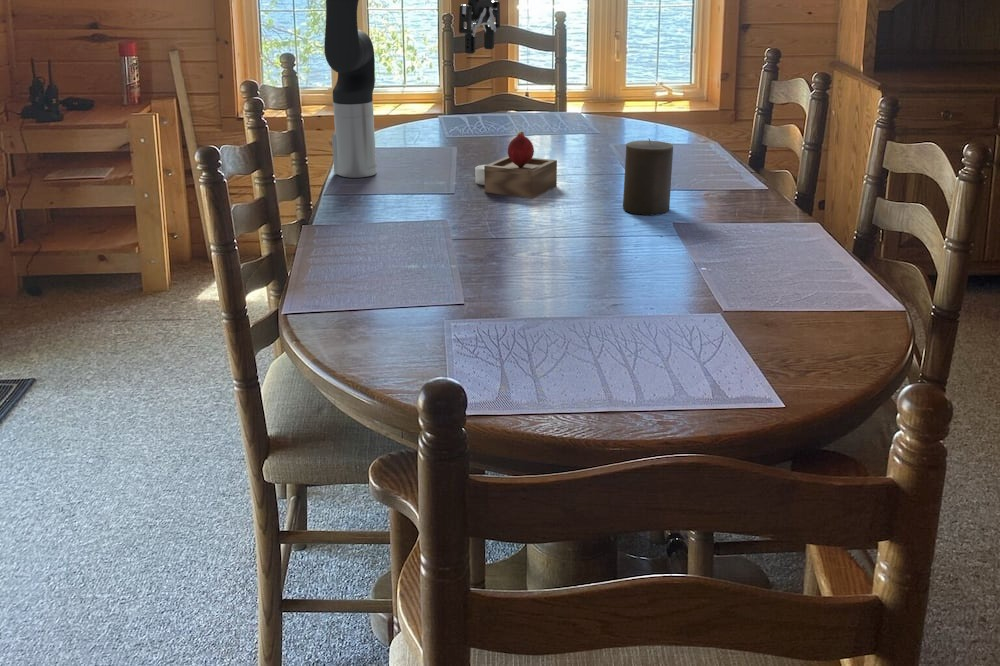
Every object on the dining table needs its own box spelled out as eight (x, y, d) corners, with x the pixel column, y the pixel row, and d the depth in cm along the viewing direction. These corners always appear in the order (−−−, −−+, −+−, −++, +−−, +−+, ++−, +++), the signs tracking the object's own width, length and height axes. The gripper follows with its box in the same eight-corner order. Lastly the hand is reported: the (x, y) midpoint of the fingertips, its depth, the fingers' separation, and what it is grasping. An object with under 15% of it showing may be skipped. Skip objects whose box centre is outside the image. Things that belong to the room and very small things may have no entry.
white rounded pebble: (470, 183, 244) (470, 168, 243) (483, 178, 249) (483, 163, 248) (493, 186, 242) (493, 171, 240) (506, 181, 247) (505, 166, 245)
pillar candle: (640, 218, 216) (644, 144, 210) (613, 206, 224) (617, 135, 218) (679, 212, 220) (684, 140, 214) (651, 201, 228) (655, 132, 222)
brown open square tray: (484, 192, 236) (484, 165, 234) (509, 180, 246) (509, 155, 244) (532, 198, 231) (533, 171, 229) (556, 186, 241) (556, 160, 239)
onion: (531, 170, 234) (531, 134, 231) (505, 169, 235) (505, 133, 232) (535, 164, 239) (535, 129, 236) (510, 164, 240) (510, 128, 237)
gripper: (481, -28, 239) (481, 46, 245) (448, -24, 228) (448, 53, 234) (510, -26, 236) (509, 49, 242) (478, -23, 224) (478, 56, 231)
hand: (479, 51), depth 238 cm, fingers open, 8 cm apart
